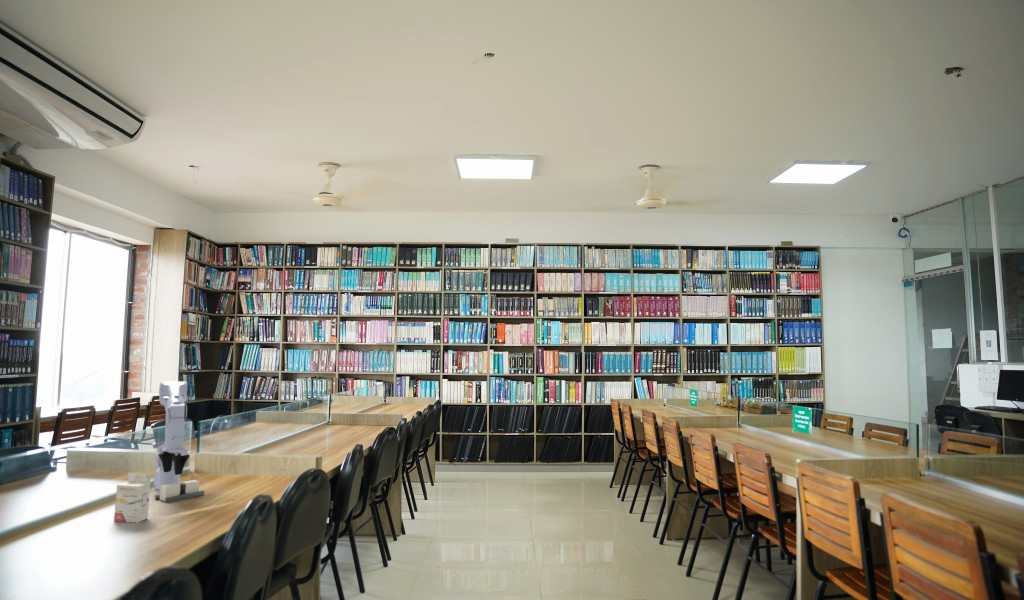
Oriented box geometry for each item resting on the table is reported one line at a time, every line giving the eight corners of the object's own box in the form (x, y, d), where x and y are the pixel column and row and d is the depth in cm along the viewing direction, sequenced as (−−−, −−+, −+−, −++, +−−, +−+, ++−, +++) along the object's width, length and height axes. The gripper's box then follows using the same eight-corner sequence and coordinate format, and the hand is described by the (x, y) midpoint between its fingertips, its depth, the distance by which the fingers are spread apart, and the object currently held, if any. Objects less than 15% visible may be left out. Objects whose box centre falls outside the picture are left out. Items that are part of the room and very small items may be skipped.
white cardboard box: (159, 499, 211) (160, 485, 212) (175, 496, 216) (175, 482, 217) (165, 501, 209) (166, 486, 210) (181, 497, 214) (181, 484, 215)
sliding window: (153, 502, 212) (154, 495, 212) (191, 494, 224) (191, 487, 224) (167, 505, 207) (167, 498, 208) (204, 497, 219) (205, 490, 219)
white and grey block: (198, 494, 220) (199, 481, 220) (183, 497, 215) (184, 483, 215) (192, 493, 222) (193, 479, 222) (177, 496, 217) (178, 482, 217)
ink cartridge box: (112, 522, 187) (116, 475, 189) (124, 517, 192) (127, 472, 193) (137, 523, 186) (140, 476, 188) (148, 518, 191) (151, 473, 193)
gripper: (153, 435, 219) (151, 472, 218) (175, 439, 212) (172, 477, 210) (172, 433, 225) (170, 469, 224) (194, 437, 218) (191, 474, 216)
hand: (172, 473), depth 218 cm, fingers open, 7 cm apart
